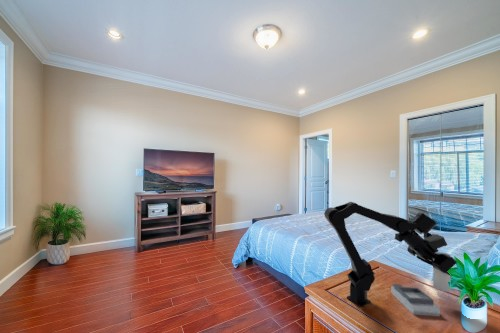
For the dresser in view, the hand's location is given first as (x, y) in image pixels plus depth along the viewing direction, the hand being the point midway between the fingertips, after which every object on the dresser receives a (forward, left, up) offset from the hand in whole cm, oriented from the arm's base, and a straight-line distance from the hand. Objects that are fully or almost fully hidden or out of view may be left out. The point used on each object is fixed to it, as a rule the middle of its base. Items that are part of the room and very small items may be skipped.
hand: (445, 271), depth 83 cm
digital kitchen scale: (-10, +6, -13) cm, 18 cm away
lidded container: (-1, +1, -7) cm, 7 cm away
